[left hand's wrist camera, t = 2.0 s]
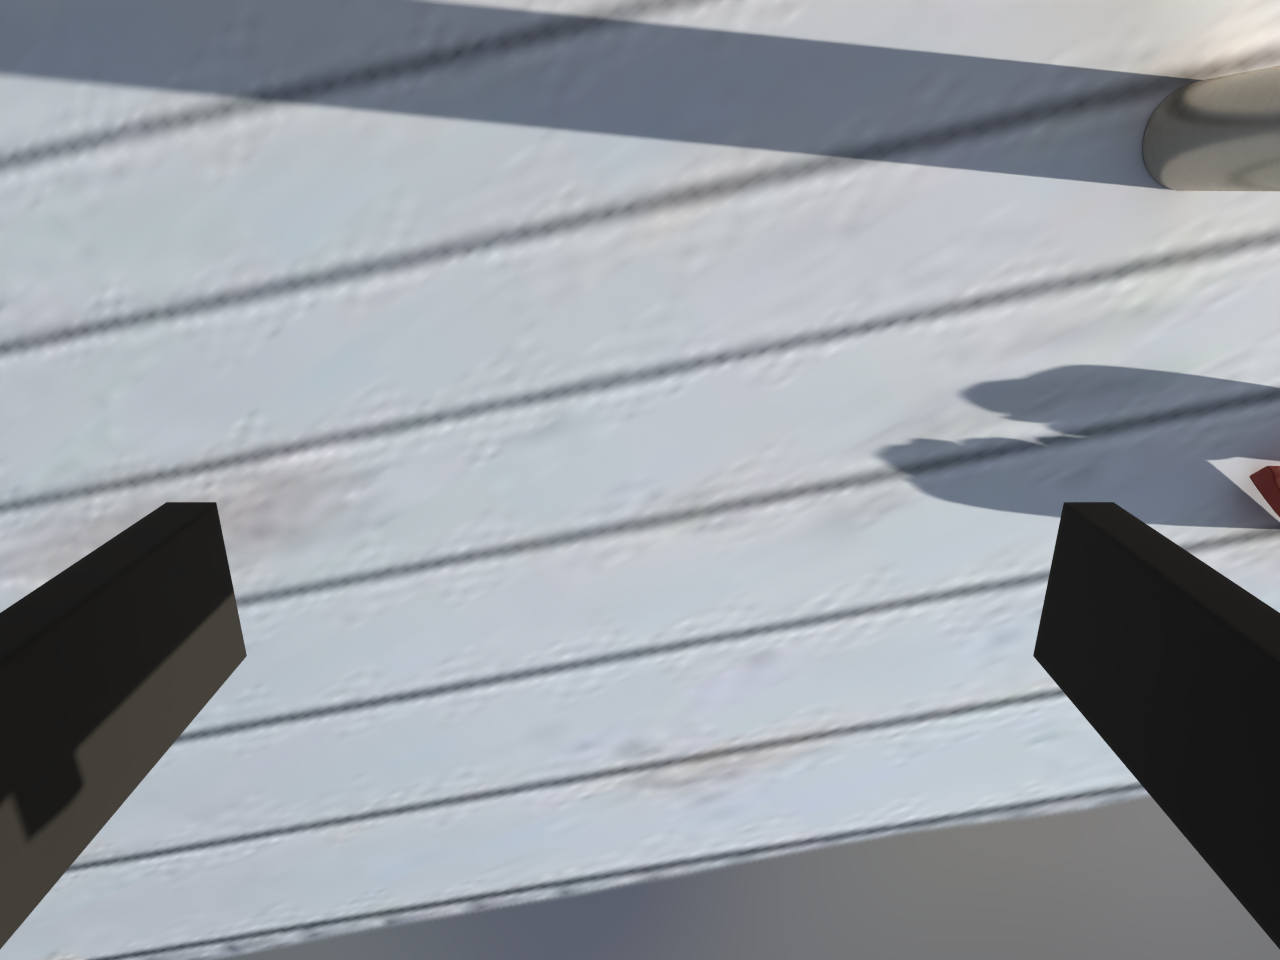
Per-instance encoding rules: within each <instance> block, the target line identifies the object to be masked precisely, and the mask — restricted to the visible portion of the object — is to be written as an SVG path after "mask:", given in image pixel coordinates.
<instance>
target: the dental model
mask: <svg viewBox="0 0 1280 960" xmlns="http://www.w3.org/2000/svg"><path fill="white" fill-rule="evenodd" d="M1250 478H1251V480H1252V481H1253V483H1254V484H1255V486H1256V487H1257V489H1258V490H1259V492H1260V493H1261V494H1262V496H1263V497H1264V498H1265V500H1266V501H1267V502H1268V504H1269V505H1270V506H1271V507H1272V509H1273V510H1274V511H1275V512H1276V514H1277V515H1278V516H1279V517H1280V466H1267V467H1265V468H1263V469H1261V470H1259V471H1257V472H1256V473H1254V474H1252V475H1250Z"/></svg>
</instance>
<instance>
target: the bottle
mask: <svg viewBox="0 0 1280 960" xmlns="http://www.w3.org/2000/svg"><path fill="white" fill-rule="evenodd" d="M1143 157H1144V161H1145V165H1146V167H1147V169H1148V171H1149V173H1150V174H1151V176H1152V177H1153V178H1154V179H1155V180H1156V181H1157V182H1158V183H1159V184H1161V185H1163V186H1164V187H1167V188H1169V189H1173V190H1180V191H1280V66H1275V67H1270V68H1265V69H1260V70H1254V71H1249V72H1244V73H1239V74H1233V75H1228V76H1223V77H1218V78H1212V79H1207V80H1202V81H1197V82H1193V83H1190V84H1187V85H1185V86H1183V87H1181V88H1179V89H1177V90H1176V91H1174V92H1173V93H1172V94H1170V95H1169V96H1168V97H1167V98H1166V99H1165V100H1164V101H1163V102H1162V103H1161V104H1160V105H1159V106H1158V108H1157V109H1156V110H1155V112H1154V113H1153V115H1152V117H1151V119H1150V121H1149V123H1148V125H1147V128H1146V131H1145V135H1144V140H1143Z"/></svg>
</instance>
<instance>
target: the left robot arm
mask: <svg viewBox="0 0 1280 960" xmlns="http://www.w3.org/2000/svg"><path fill="white" fill-rule="evenodd" d="M246 656H247V655H246V650H245V645H244V640H243V635H242V630H241V625H240V620H239V615H238V610H237V605H236V600H235V595H234V590H233V585H232V580H231V575H230V570H229V565H228V560H227V555H226V550H225V545H224V540H223V535H222V530H221V525H220V520H219V515H218V510H217V505H216V502H167V503H165V504H163V505H162V506H160V507H159V508H157V509H156V510H154V511H153V512H151V513H150V514H148V515H147V516H145V517H144V518H142V519H141V520H139V521H138V522H136V523H135V524H133V525H132V526H130V527H129V528H127V529H126V530H124V531H123V532H121V533H120V534H118V535H117V536H115V537H114V538H112V539H111V540H109V541H108V542H106V543H105V544H103V545H102V546H100V547H99V548H97V549H96V550H94V551H93V552H91V553H90V554H88V555H87V556H85V557H84V558H82V559H81V560H79V561H78V562H76V563H75V564H73V565H72V566H70V567H69V568H67V569H66V570H64V571H63V572H61V573H60V574H58V575H57V576H55V577H54V578H52V579H51V580H49V581H48V582H46V583H45V584H43V585H42V586H40V587H39V588H37V589H36V590H34V591H33V592H31V593H30V594H28V595H27V596H25V597H24V598H22V599H21V600H19V601H18V602H16V603H15V604H13V605H12V606H10V607H9V608H7V609H6V610H4V611H3V612H1V613H0V949H1V948H2V947H3V945H4V944H5V943H6V942H7V941H8V939H9V938H10V937H11V936H12V935H13V933H14V932H15V931H16V930H17V929H18V928H19V926H20V925H21V924H22V923H23V922H24V920H25V919H26V918H27V917H28V916H29V914H30V913H31V912H32V911H33V910H34V908H35V907H36V906H37V905H38V904H39V903H40V901H41V900H42V899H43V898H44V897H45V895H46V894H47V893H48V892H49V891H50V889H51V888H52V887H53V886H54V885H55V883H56V882H57V881H58V880H59V879H60V878H61V876H62V875H63V874H64V873H65V872H66V870H67V869H68V868H69V867H70V866H71V864H72V863H73V862H74V861H75V860H76V858H77V857H78V856H79V855H80V854H81V852H82V851H83V850H84V849H85V848H86V847H87V845H88V844H89V843H90V842H91V841H92V839H93V838H94V837H95V836H96V835H97V833H98V832H99V831H100V830H101V829H102V827H103V826H104V825H105V824H106V823H107V822H108V820H109V819H110V818H111V817H112V816H113V814H114V813H115V812H116V811H117V810H118V808H119V807H120V806H121V805H122V804H123V802H124V801H125V800H126V799H127V798H128V797H129V795H130V794H131V793H132V792H133V791H134V789H135V788H136V787H137V786H138V785H139V783H140V782H141V781H142V780H143V779H144V777H145V776H146V775H147V774H148V773H149V772H150V770H151V769H152V768H153V767H154V766H155V764H156V763H157V762H158V761H159V760H160V758H161V757H162V756H163V755H164V754H165V752H166V751H167V750H168V749H169V748H170V747H171V745H172V744H173V743H174V742H175V741H176V739H177V738H178V737H179V736H180V735H181V733H182V732H183V731H184V730H185V729H186V727H187V726H188V725H189V724H190V723H191V722H192V720H193V719H194V718H195V717H196V716H197V714H198V713H199V712H200V711H201V710H202V708H203V707H204V706H205V705H206V704H207V702H208V701H209V700H210V699H211V698H212V697H213V695H214V694H215V693H216V692H217V691H218V689H219V688H220V687H221V686H222V685H223V683H224V682H225V681H226V680H227V679H228V677H229V676H230V675H231V674H232V673H233V672H234V670H235V669H236V668H237V667H238V666H239V664H240V663H241V662H242V661H243V660H244V658H245V657H246ZM1033 656H1034V657H1035V658H1036V660H1037V661H1038V662H1039V663H1040V664H1041V666H1042V667H1043V668H1044V669H1045V670H1046V672H1047V673H1048V674H1049V675H1050V676H1051V677H1052V679H1053V680H1054V681H1055V682H1056V683H1057V685H1058V686H1059V687H1060V688H1061V689H1062V691H1063V692H1064V693H1065V694H1066V695H1067V697H1068V698H1069V699H1070V700H1071V701H1072V702H1073V704H1074V705H1075V706H1076V707H1077V708H1078V710H1079V711H1080V712H1081V713H1082V714H1083V716H1084V717H1085V718H1086V719H1087V720H1088V722H1089V723H1090V724H1091V725H1092V726H1093V727H1094V729H1095V730H1096V731H1097V732H1098V733H1099V735H1100V736H1101V737H1102V738H1103V739H1104V741H1105V742H1106V743H1107V744H1108V745H1109V747H1110V748H1111V749H1112V750H1113V751H1114V752H1115V754H1116V755H1117V756H1118V757H1119V758H1120V760H1121V761H1122V762H1123V763H1124V764H1125V766H1126V767H1127V768H1128V769H1129V770H1130V772H1131V773H1132V774H1133V775H1134V776H1135V777H1136V779H1137V780H1138V781H1139V782H1140V783H1141V785H1142V786H1143V787H1144V788H1145V789H1146V791H1147V792H1148V793H1149V794H1150V795H1151V797H1152V798H1153V799H1154V800H1155V801H1156V802H1157V804H1158V805H1159V806H1160V807H1161V808H1162V810H1163V811H1164V812H1165V813H1166V814H1167V816H1168V817H1169V818H1170V819H1171V820H1172V822H1173V823H1174V824H1175V825H1176V826H1177V827H1178V829H1179V830H1180V831H1181V832H1182V833H1183V835H1184V836H1185V837H1186V838H1187V839H1188V841H1189V842H1190V843H1191V844H1192V845H1193V847H1194V848H1195V849H1196V850H1197V851H1198V852H1199V854H1200V855H1201V856H1202V857H1203V858H1204V860H1205V861H1206V862H1207V863H1208V864H1209V866H1210V867H1211V868H1212V869H1213V870H1214V871H1215V873H1216V874H1217V875H1218V876H1219V877H1220V879H1221V880H1222V881H1223V882H1224V883H1225V885H1226V886H1227V887H1228V888H1229V889H1230V891H1231V892H1232V893H1233V894H1234V895H1235V897H1236V898H1237V899H1238V900H1239V901H1240V902H1241V904H1242V905H1243V906H1244V907H1245V908H1246V910H1247V911H1248V912H1249V913H1250V914H1251V916H1252V917H1253V918H1254V919H1255V920H1256V921H1257V923H1258V924H1259V925H1260V926H1261V927H1262V929H1263V930H1264V931H1265V932H1266V933H1267V935H1268V936H1269V937H1270V938H1271V939H1272V941H1273V942H1274V943H1275V944H1276V945H1277V947H1278V948H1279V949H1280V613H1279V612H1277V611H1276V610H1274V609H1273V608H1271V607H1270V606H1268V605H1267V604H1265V603H1264V602H1262V601H1261V600H1259V599H1258V598H1256V597H1255V596H1253V595H1252V594H1250V593H1249V592H1247V591H1246V590H1244V589H1243V588H1241V587H1240V586H1238V585H1237V584H1235V583H1234V582H1232V581H1231V580H1229V579H1228V578H1226V577H1225V576H1223V575H1222V574H1220V573H1219V572H1217V571H1216V570H1214V569H1213V568H1211V567H1210V566H1208V565H1207V564H1205V563H1204V562H1202V561H1201V560H1199V559H1198V558H1196V557H1195V556H1193V555H1192V554H1190V553H1189V552H1187V551H1186V550H1184V549H1183V548H1181V547H1180V546H1178V545H1177V544H1175V543H1174V542H1172V541H1171V540H1169V539H1168V538H1166V537H1165V536H1163V535H1162V534H1160V533H1159V532H1157V531H1156V530H1154V529H1153V528H1151V527H1150V526H1148V525H1147V524H1145V523H1144V522H1142V521H1141V520H1139V519H1138V518H1136V517H1135V516H1133V515H1132V514H1130V513H1129V512H1127V511H1126V510H1124V509H1123V508H1121V507H1120V506H1118V505H1117V504H1115V503H1113V502H1064V505H1063V510H1062V515H1061V520H1060V525H1059V530H1058V535H1057V540H1056V545H1055V550H1054V555H1053V560H1052V565H1051V570H1050V575H1049V580H1048V585H1047V590H1046V595H1045V600H1044V605H1043V610H1042V615H1041V620H1040V625H1039V630H1038V635H1037V640H1036V645H1035V650H1034V655H1033Z"/></svg>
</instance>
